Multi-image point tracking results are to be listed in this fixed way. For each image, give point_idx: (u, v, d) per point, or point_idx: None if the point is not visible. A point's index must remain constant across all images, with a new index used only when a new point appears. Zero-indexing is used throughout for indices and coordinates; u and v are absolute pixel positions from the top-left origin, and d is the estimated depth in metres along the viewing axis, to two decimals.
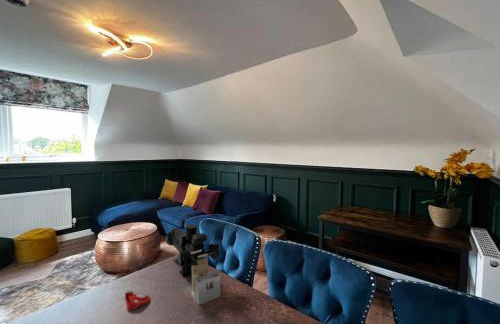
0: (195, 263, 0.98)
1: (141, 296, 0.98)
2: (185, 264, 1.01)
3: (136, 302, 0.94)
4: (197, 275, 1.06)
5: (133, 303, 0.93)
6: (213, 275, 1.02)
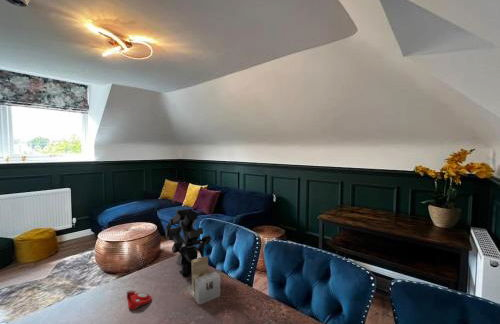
0: (189, 260, 1.09)
1: (142, 295, 0.98)
2: (180, 252, 1.12)
3: (137, 301, 0.94)
4: (197, 275, 1.06)
5: (134, 302, 0.94)
6: (213, 275, 1.02)
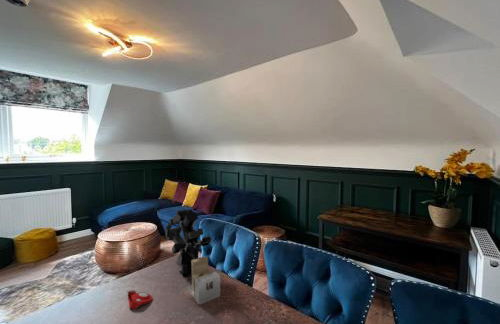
0: None
1: (143, 295, 0.98)
2: (186, 251, 1.13)
3: (138, 301, 0.95)
4: (197, 275, 1.06)
5: (135, 302, 0.94)
6: (213, 275, 1.02)
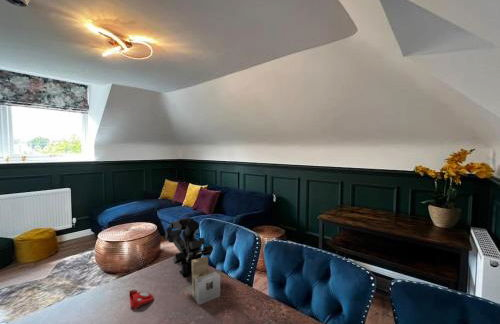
0: None
1: (144, 295, 0.99)
2: (187, 261, 1.12)
3: (139, 300, 0.95)
4: (197, 275, 1.06)
5: (136, 301, 0.94)
6: (213, 275, 1.02)
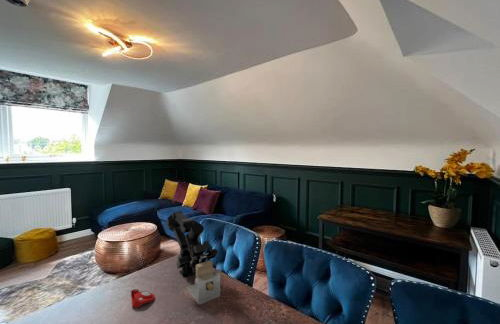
0: None
1: (146, 294, 0.99)
2: (191, 265, 1.08)
3: (140, 300, 0.95)
4: None
5: (138, 301, 0.95)
6: (213, 275, 1.02)
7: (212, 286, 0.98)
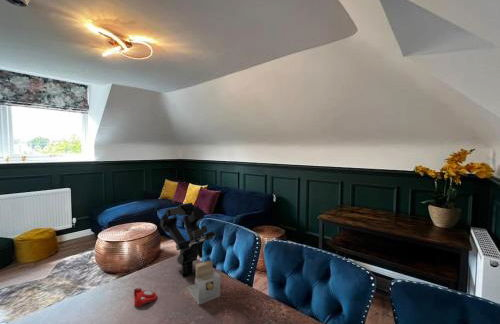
0: (199, 256, 1.11)
1: (148, 293, 1.00)
2: (190, 247, 1.13)
3: (142, 299, 0.96)
4: None
5: (140, 300, 0.95)
6: (213, 275, 1.02)
7: (212, 286, 0.98)
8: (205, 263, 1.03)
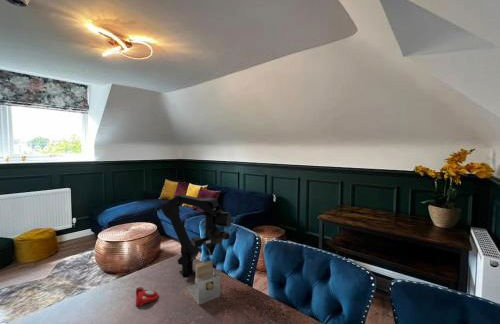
0: (209, 253, 1.15)
1: (149, 293, 1.00)
2: None
3: (144, 298, 0.96)
4: None
5: (141, 299, 0.96)
6: (213, 275, 1.02)
7: (212, 286, 0.98)
8: (205, 263, 1.03)
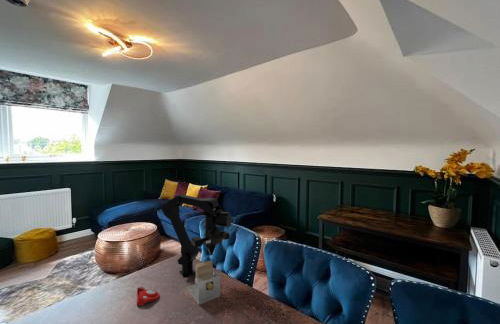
0: (209, 253, 1.15)
1: (150, 292, 1.00)
2: None
3: (145, 298, 0.97)
4: None
5: (142, 299, 0.96)
6: (213, 275, 1.02)
7: (212, 286, 0.98)
8: (205, 263, 1.03)
